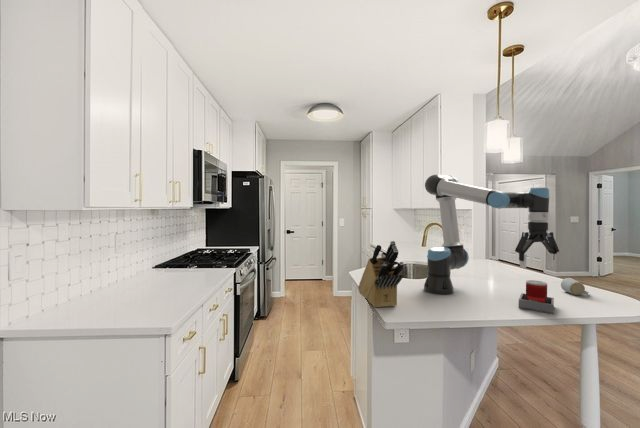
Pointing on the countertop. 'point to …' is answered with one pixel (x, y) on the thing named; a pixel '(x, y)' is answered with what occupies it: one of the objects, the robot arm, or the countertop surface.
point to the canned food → (536, 291)
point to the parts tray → (536, 304)
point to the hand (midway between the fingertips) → (536, 267)
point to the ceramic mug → (573, 286)
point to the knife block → (381, 278)
